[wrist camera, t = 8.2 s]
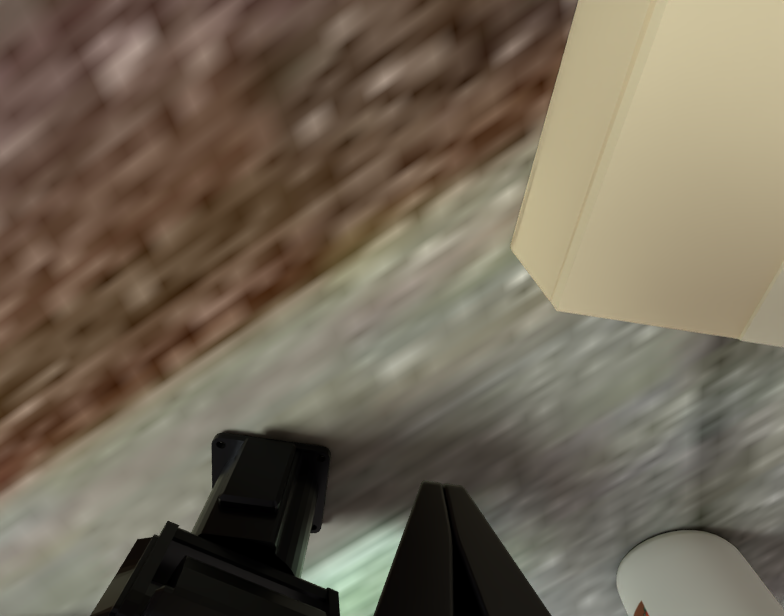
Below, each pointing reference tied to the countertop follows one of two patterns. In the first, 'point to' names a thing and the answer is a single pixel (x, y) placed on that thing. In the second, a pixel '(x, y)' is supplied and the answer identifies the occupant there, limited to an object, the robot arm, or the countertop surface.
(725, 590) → the milk bottle
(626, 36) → the cardboard box
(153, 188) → the countertop surface
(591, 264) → the lid
